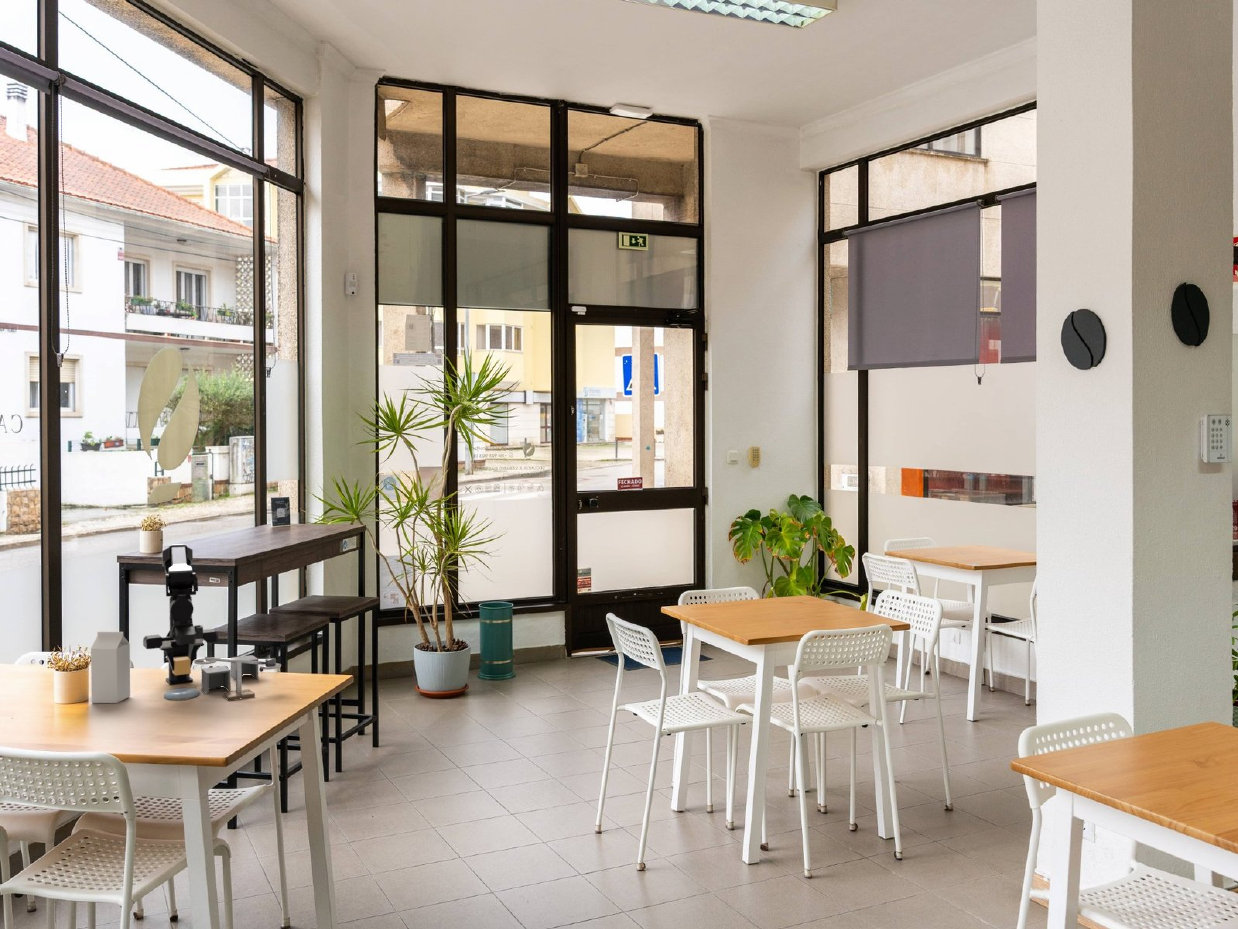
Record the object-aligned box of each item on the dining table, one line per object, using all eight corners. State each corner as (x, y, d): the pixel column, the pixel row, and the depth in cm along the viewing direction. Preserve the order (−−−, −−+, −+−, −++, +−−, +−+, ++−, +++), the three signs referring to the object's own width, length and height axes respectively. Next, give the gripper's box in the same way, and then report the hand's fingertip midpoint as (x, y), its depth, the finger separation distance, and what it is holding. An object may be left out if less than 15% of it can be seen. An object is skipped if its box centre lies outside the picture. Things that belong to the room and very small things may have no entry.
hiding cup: (230, 677, 303) (230, 657, 302) (252, 674, 306) (252, 655, 306) (236, 681, 297) (236, 661, 297) (258, 678, 301) (258, 659, 301)
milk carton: (117, 703, 273) (116, 634, 272) (91, 703, 273) (90, 634, 273) (130, 697, 280) (129, 629, 279) (105, 696, 280) (104, 629, 280)
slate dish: (161, 694, 283) (161, 691, 282) (194, 690, 288) (194, 686, 288) (167, 701, 275) (167, 698, 275) (202, 696, 280) (202, 693, 280)
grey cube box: (201, 689, 288) (201, 668, 288) (225, 686, 292) (224, 665, 292) (207, 694, 283) (206, 673, 283) (230, 690, 287) (230, 670, 287)
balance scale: (192, 700, 276) (192, 656, 276) (277, 688, 290) (277, 646, 289) (197, 705, 272) (197, 660, 271) (283, 692, 285) (283, 649, 285)
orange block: (172, 672, 282) (172, 658, 282) (187, 670, 284) (187, 656, 284) (175, 675, 278) (175, 661, 278) (190, 673, 281) (190, 659, 281)
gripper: (150, 622, 269) (150, 679, 269) (222, 615, 280) (223, 670, 280) (142, 615, 278) (143, 671, 278) (213, 609, 289) (213, 663, 289)
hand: (181, 669), depth 281 cm, fingers closed on orange block, 4 cm apart
